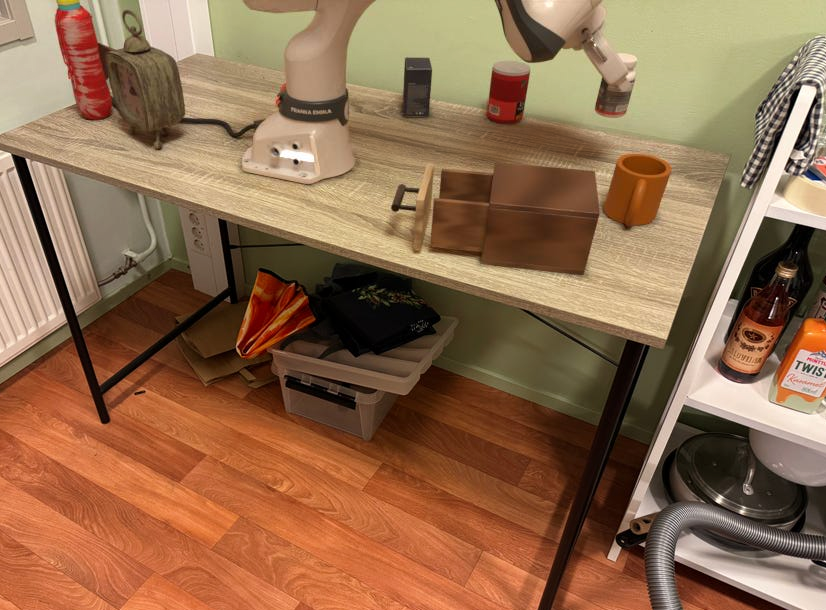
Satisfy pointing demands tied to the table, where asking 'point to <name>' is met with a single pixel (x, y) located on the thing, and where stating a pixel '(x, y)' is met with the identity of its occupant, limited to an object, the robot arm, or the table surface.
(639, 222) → the mug
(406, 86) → the box
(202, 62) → the table surface
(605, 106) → the pill bottle
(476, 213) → the drawer
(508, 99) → the canned food
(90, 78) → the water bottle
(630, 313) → the table surface
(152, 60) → the tabletop clock
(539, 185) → the cabinet
